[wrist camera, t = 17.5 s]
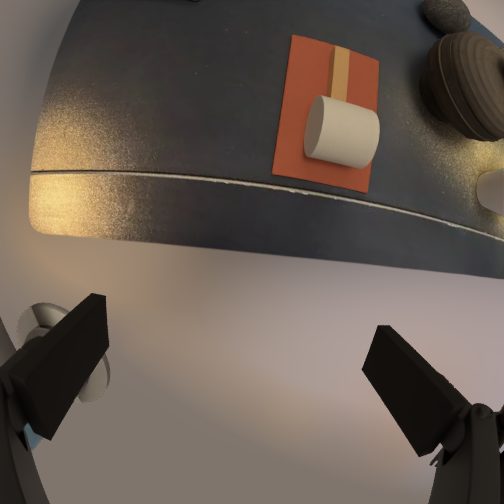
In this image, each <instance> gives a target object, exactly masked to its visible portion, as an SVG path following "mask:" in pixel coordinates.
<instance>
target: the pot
mask: <svg viewBox="0 0 504 504" xmlns="http://www.w3.org/2000/svg"><path fill="white" fill-rule="evenodd" d="M419 88H420V94H421V97H422V99H423V101H424V103H425V105H426V107H427V108H428V110H429V111H430V113H431V114H432V115H433V116H434V117H435V118H436V119H438V120H439V121H441V122H443V123H451V124H452V126H453V127H454V128H455V129H456V130H457V131H459V132H460V133H461V134H463V135H464V136H465V137H466V138H468V139H475V140H478V141H490V142H494V141H498V140H500V139H502V138H504V54H503V52H502V51H501V50H500V49H499V48H498V47H497V46H496V45H495V44H493V43H492V42H491V41H490V40H488V39H487V38H485V37H484V36H482V35H480V34H478V33H475V32H472V31H462V32H457V33H453V34H447V35H445V36H444V37H443V38H442V39H439V40H438V41H436V42H435V44H434V45H433V47H432V48H431V49H430V50H429V52H428V55H427V71H426V72H425V73H423V74H422V76H421V77H420V81H419Z"/></svg>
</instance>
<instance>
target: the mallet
mask: <svg viewBox="0 0 504 504" xmlns="http://www.w3.org/2000/svg"><path fill="white" fill-rule="evenodd" d="M349 54H350V50H348V49H345V48H342V47H339V46H335V47H334V48H333V49H332V50H331V54H330V66H329V76H328V86H327V96H322V95H318V96H317V97H316V98H315V100H314V101H313V103H312V106H311V108H310V111H309V114H308V118H307V122H306V128H305V135H304V151H305V154H306V156H307V157H311V158H316V159H320V160H325V161H329V162H333V163H338V164H342V165H346V166H350V167H354V168H358V169H362V168H365V167H366V166H367V165H368V164H369V163H370V161H371V160H372V158H373V156H374V154H375V151H376V148H377V145H378V141H379V132H380V127H379V120H378V117H377V115H376V113H375V112H374V111H372V110H369V109H366V108H363V107H360V106H357V105H354V104H350V103H347V102H346V97H347V85H348V71H349Z"/></svg>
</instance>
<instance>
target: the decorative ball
mask: <svg viewBox="0 0 504 504" xmlns="http://www.w3.org/2000/svg"><path fill="white" fill-rule="evenodd" d="M423 9H424V13H425V15H426V17H427V19H428V20H429V21H430V23H431V24H432V25H433V26H434V27H436V28H437V29H438V30H440V31H442V32H444V33H446V34H453V33H457V32H462V31H467V30H468V29H469V27H470V24H471V15H470V12H469V10H468V8H467V6H466V5H465V3H464V2H463V1H462V0H424V1H423Z"/></svg>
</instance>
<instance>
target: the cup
mask: <svg viewBox="0 0 504 504" xmlns="http://www.w3.org/2000/svg"><path fill="white" fill-rule="evenodd" d="M476 191H477V197H478V200H479V202H480V204H481V205H482V206H483V207H485V208H487V209H489V210H491V211H493V212H495V213H497V214H499V215H501V216H503V217H504V168H501V169H497V170H493V171H490V172H486V173H482V174H481V175H480V176H479V178H478V181H477V186H476Z"/></svg>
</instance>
